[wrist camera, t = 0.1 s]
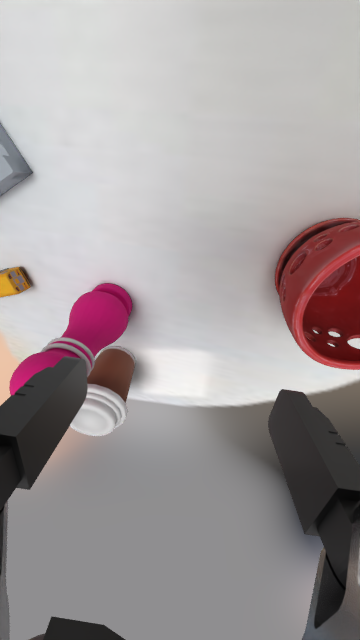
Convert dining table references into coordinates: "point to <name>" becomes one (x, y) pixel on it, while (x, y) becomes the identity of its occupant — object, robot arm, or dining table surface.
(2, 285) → the toy bus
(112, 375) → the coffee cup
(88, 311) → the pepper mill
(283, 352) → the dining table surface
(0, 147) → the trap channel
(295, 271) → the plant pot
